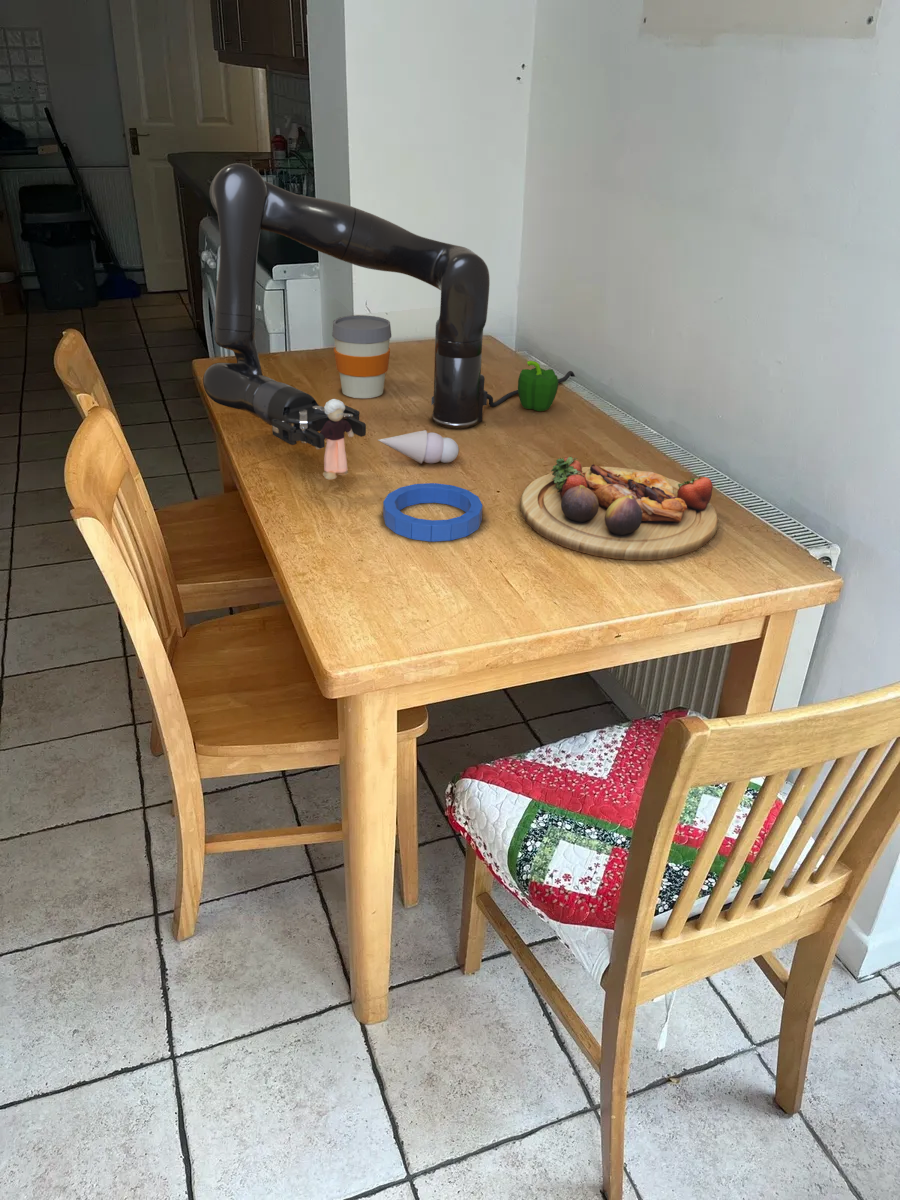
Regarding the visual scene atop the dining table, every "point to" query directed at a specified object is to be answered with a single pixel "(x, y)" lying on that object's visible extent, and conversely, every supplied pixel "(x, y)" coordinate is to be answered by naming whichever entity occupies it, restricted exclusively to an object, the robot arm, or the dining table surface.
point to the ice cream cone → (424, 446)
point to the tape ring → (432, 528)
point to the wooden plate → (620, 511)
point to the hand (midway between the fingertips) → (343, 436)
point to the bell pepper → (537, 387)
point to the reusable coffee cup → (362, 354)
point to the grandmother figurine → (335, 439)
